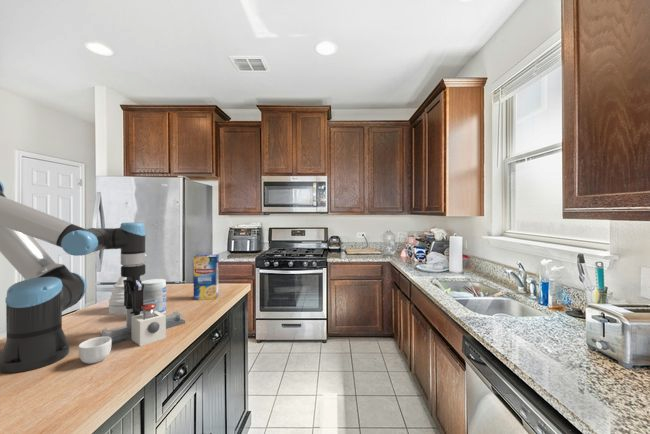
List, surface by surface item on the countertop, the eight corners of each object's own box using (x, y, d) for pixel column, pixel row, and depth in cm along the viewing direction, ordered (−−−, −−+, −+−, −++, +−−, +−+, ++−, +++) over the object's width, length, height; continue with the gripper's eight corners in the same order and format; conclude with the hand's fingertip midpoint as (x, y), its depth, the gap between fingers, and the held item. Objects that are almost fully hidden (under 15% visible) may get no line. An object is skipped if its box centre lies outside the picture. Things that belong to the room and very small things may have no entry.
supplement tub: (169, 315, 125) (169, 281, 125) (143, 320, 119) (143, 284, 118) (162, 309, 132) (162, 277, 132) (138, 314, 126) (138, 280, 125)
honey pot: (149, 307, 135) (149, 269, 135) (118, 316, 123) (118, 274, 123) (133, 303, 141) (133, 266, 141) (102, 311, 129) (102, 271, 129)
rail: (109, 344, 96) (109, 335, 96) (100, 336, 103) (100, 328, 103) (185, 323, 116) (185, 315, 116) (173, 317, 122) (173, 310, 122)
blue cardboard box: (216, 299, 149) (216, 256, 149) (193, 300, 147) (193, 256, 147) (218, 295, 156) (218, 254, 156) (197, 296, 154) (197, 254, 154)
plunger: (144, 330, 98) (144, 308, 98) (139, 326, 101) (139, 305, 101) (158, 326, 101) (158, 304, 101) (153, 323, 104) (153, 302, 104)
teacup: (100, 366, 83) (100, 347, 83) (71, 367, 82) (71, 348, 82) (121, 350, 93) (121, 333, 93) (95, 351, 92) (95, 334, 92)
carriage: (138, 329, 105) (138, 303, 105) (133, 326, 108) (133, 301, 108) (158, 323, 111) (158, 299, 111) (153, 320, 114) (153, 297, 114)
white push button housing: (140, 346, 95) (140, 322, 95) (131, 339, 100) (131, 316, 100) (166, 338, 101) (166, 315, 101) (156, 332, 107) (156, 310, 107)
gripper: (154, 266, 103) (154, 331, 104) (136, 260, 115) (136, 319, 115) (129, 269, 97) (130, 338, 98) (113, 263, 109) (113, 325, 109)
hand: (133, 328), depth 106 cm, fingers closed on carriage, 5 cm apart
